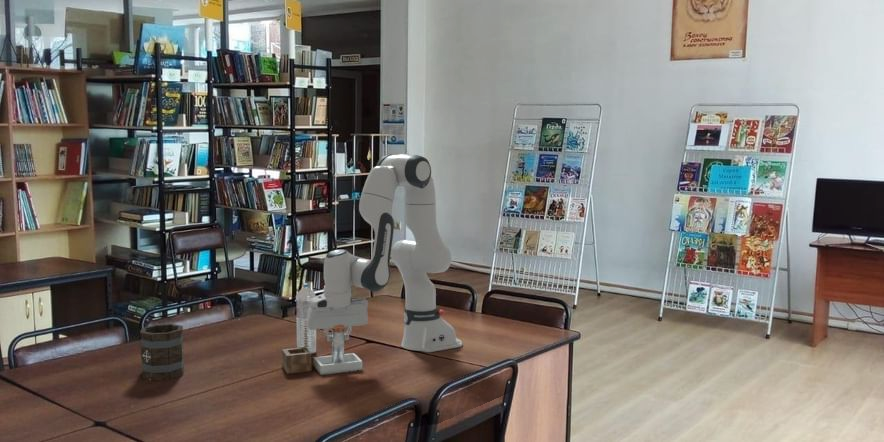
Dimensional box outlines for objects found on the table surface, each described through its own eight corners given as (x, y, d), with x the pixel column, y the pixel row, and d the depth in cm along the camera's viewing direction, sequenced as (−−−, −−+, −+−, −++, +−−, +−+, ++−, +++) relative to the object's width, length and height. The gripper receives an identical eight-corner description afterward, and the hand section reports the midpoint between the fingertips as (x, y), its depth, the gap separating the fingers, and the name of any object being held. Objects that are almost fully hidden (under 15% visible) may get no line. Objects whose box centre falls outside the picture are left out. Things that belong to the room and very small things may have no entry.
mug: (191, 375, 247) (189, 330, 246) (147, 383, 240) (146, 336, 238) (172, 360, 263) (170, 317, 261) (131, 367, 255) (129, 323, 254)
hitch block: (306, 364, 260) (305, 346, 260) (311, 371, 253) (311, 353, 252) (282, 366, 257) (282, 349, 257) (286, 373, 250) (286, 355, 249)
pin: (343, 360, 259) (342, 321, 258) (347, 365, 255) (346, 325, 253) (329, 362, 257) (328, 323, 256) (332, 366, 253) (332, 326, 251)
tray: (354, 361, 264) (354, 353, 263) (362, 370, 254) (362, 361, 254) (313, 366, 258) (313, 357, 258) (320, 374, 249) (320, 365, 249)
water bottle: (312, 356, 269) (311, 286, 266) (293, 355, 271) (292, 285, 268) (319, 350, 276) (318, 282, 273) (301, 349, 277) (300, 281, 274)
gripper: (365, 294, 260) (365, 334, 262) (305, 299, 253) (305, 340, 254) (370, 298, 255) (370, 339, 256) (309, 303, 247) (309, 345, 249)
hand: (337, 340), depth 255 cm, fingers closed on pin, 4 cm apart
